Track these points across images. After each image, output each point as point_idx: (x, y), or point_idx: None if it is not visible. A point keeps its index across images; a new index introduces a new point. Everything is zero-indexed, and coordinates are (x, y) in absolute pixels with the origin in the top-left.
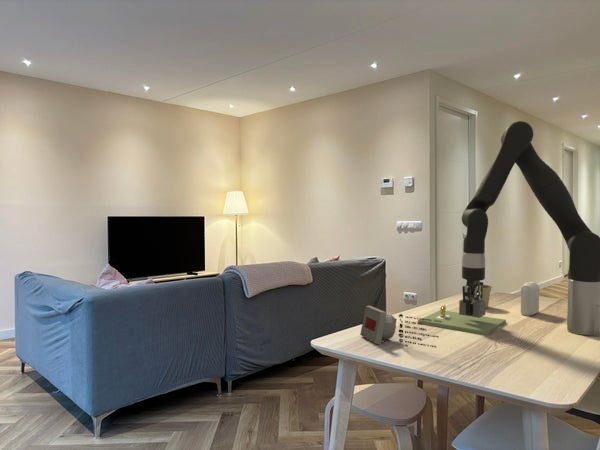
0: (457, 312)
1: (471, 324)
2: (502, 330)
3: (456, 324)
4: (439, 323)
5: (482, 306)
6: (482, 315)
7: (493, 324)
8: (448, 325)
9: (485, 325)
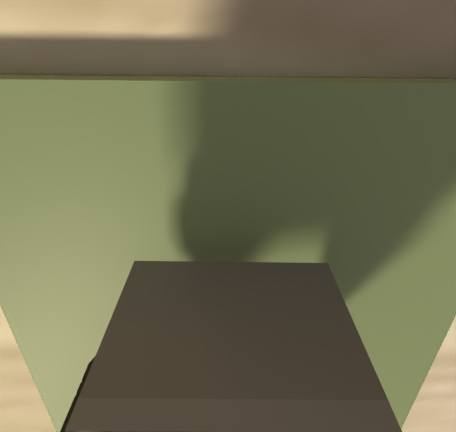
0: (51, 415)
1: (337, 270)
2: (260, 8)
3: (391, 337)
4: (413, 401)
5: (242, 356)
6: (231, 266)
7: (222, 126)
8: (430, 360)
9: (309, 176)
